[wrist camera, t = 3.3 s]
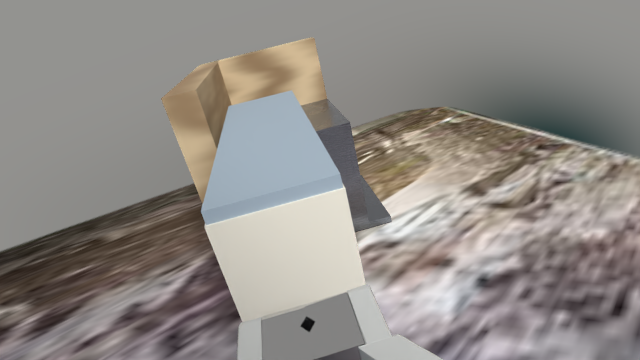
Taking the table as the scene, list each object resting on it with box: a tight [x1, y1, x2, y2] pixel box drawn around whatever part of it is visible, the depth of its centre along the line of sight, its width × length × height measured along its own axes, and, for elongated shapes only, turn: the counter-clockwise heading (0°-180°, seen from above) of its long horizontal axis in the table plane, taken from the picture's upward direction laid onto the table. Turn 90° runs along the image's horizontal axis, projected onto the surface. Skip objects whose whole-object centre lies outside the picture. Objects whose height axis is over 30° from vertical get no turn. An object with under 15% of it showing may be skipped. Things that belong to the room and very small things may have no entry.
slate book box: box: [201, 90, 366, 322], centre depth 22 cm, size 5×16×14 cm, turn 9°
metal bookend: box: [301, 99, 391, 232], centre depth 37 cm, size 5×10×10 cm, turn 9°
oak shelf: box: [161, 38, 327, 204], centre depth 34 cm, size 12×18×16 cm, turn 9°
